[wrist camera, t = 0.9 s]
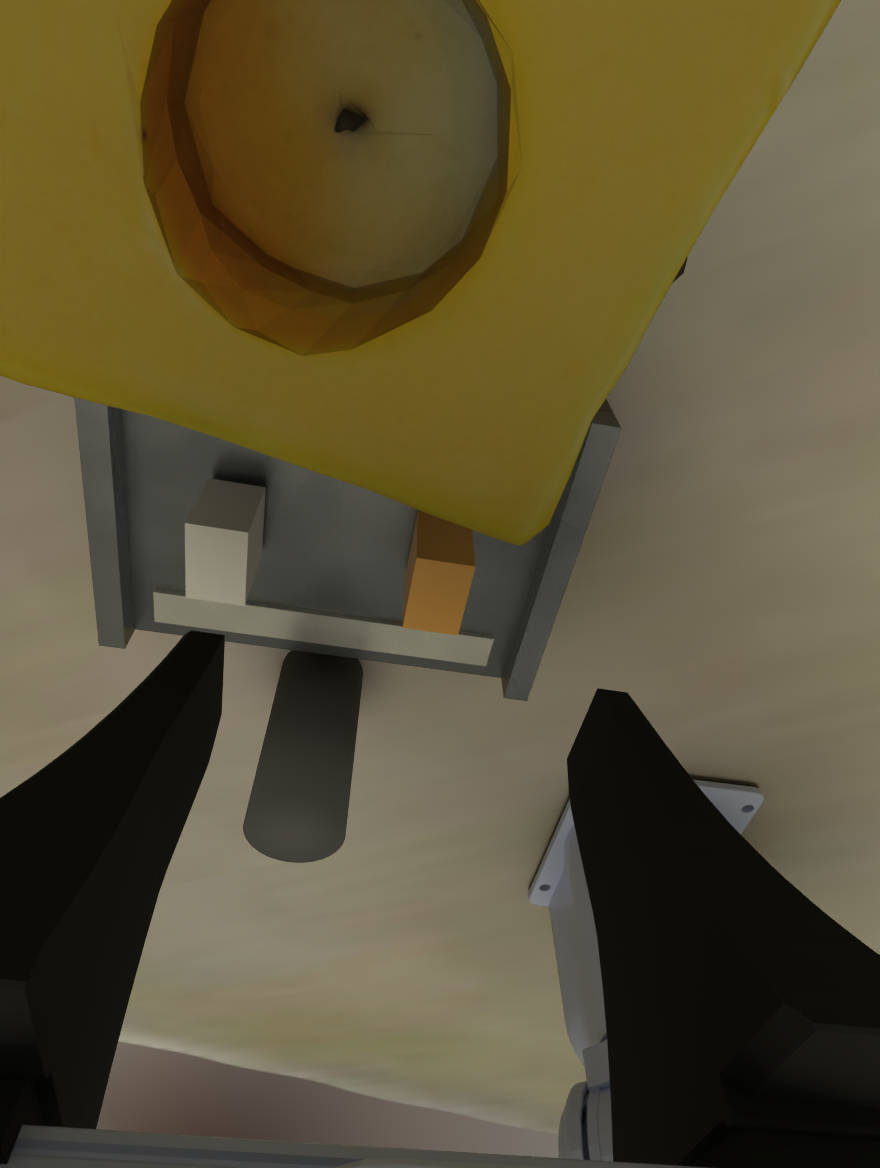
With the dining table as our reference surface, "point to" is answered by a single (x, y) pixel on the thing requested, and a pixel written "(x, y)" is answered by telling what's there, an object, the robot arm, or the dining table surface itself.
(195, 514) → the upright cream block
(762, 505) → the dining table surface
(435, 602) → the tan rectangular prism
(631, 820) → the robot arm
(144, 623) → the grey tray
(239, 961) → the dining table surface
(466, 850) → the dining table surface
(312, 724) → the post
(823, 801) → the dining table surface
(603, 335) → the candle
